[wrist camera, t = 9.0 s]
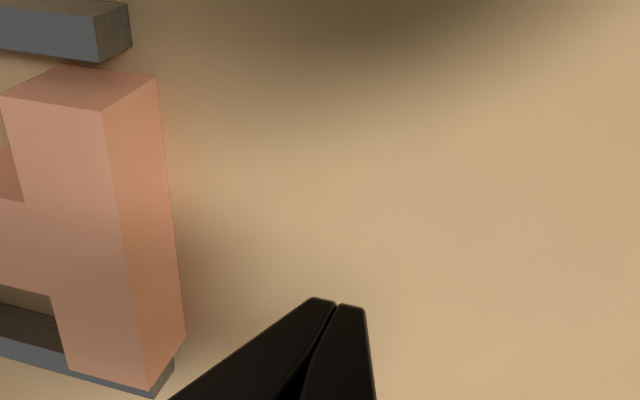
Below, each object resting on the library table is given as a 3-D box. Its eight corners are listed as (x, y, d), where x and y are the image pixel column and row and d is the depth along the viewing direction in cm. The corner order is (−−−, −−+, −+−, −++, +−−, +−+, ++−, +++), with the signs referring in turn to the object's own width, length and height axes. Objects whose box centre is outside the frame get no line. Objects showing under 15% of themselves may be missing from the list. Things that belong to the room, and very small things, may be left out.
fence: (126, 3, 21) (92, 17, 19) (174, 369, 30) (154, 399, 29) (-163, -31, 24) (-213, -21, 22) (-38, 312, 33) (-68, 337, 32)
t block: (156, 76, 22) (100, 112, 19) (186, 336, 29) (148, 391, 26) (-103, 40, 25) (-186, 66, 22) (-21, 285, 32) (-76, 329, 29)
